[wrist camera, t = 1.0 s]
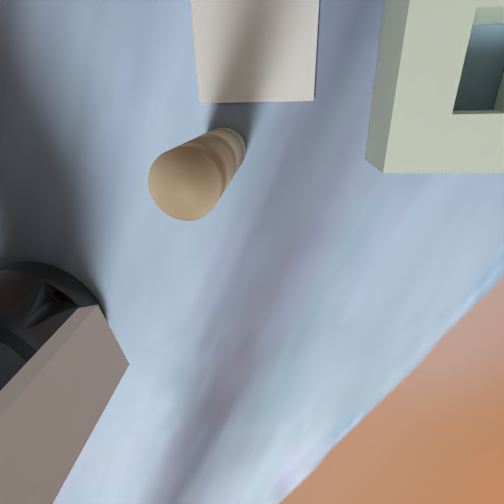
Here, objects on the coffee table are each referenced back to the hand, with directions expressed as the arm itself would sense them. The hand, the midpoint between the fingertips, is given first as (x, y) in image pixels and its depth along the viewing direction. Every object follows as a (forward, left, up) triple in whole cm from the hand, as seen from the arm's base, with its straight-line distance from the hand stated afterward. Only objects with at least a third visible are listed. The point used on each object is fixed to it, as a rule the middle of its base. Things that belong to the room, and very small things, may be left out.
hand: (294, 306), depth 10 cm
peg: (-6, +2, -23) cm, 23 cm away
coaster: (-3, +11, -22) cm, 25 cm away
